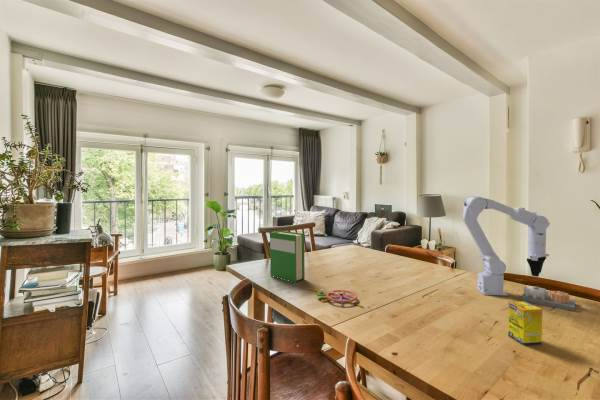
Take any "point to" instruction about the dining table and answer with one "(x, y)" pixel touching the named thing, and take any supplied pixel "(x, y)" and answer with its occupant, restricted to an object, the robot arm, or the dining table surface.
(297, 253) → the hardback book
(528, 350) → the dining table surface
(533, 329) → the supplement box
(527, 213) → the robot arm
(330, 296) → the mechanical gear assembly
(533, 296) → the gear board
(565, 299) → the loose gear
